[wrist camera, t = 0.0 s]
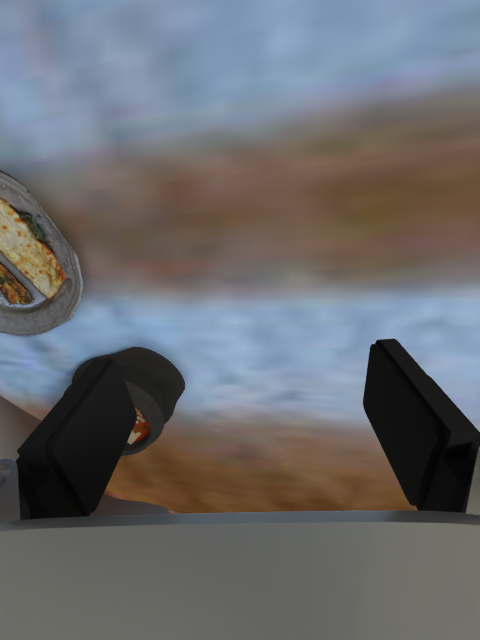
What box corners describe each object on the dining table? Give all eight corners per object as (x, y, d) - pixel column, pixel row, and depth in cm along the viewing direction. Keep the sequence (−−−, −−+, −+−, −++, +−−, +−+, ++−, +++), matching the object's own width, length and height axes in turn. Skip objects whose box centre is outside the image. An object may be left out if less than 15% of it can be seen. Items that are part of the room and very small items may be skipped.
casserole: (130, 318, 45) (106, 346, 38) (210, 386, 51) (203, 423, 44) (49, 393, 54) (16, 429, 46) (126, 445, 60) (108, 483, 52)
